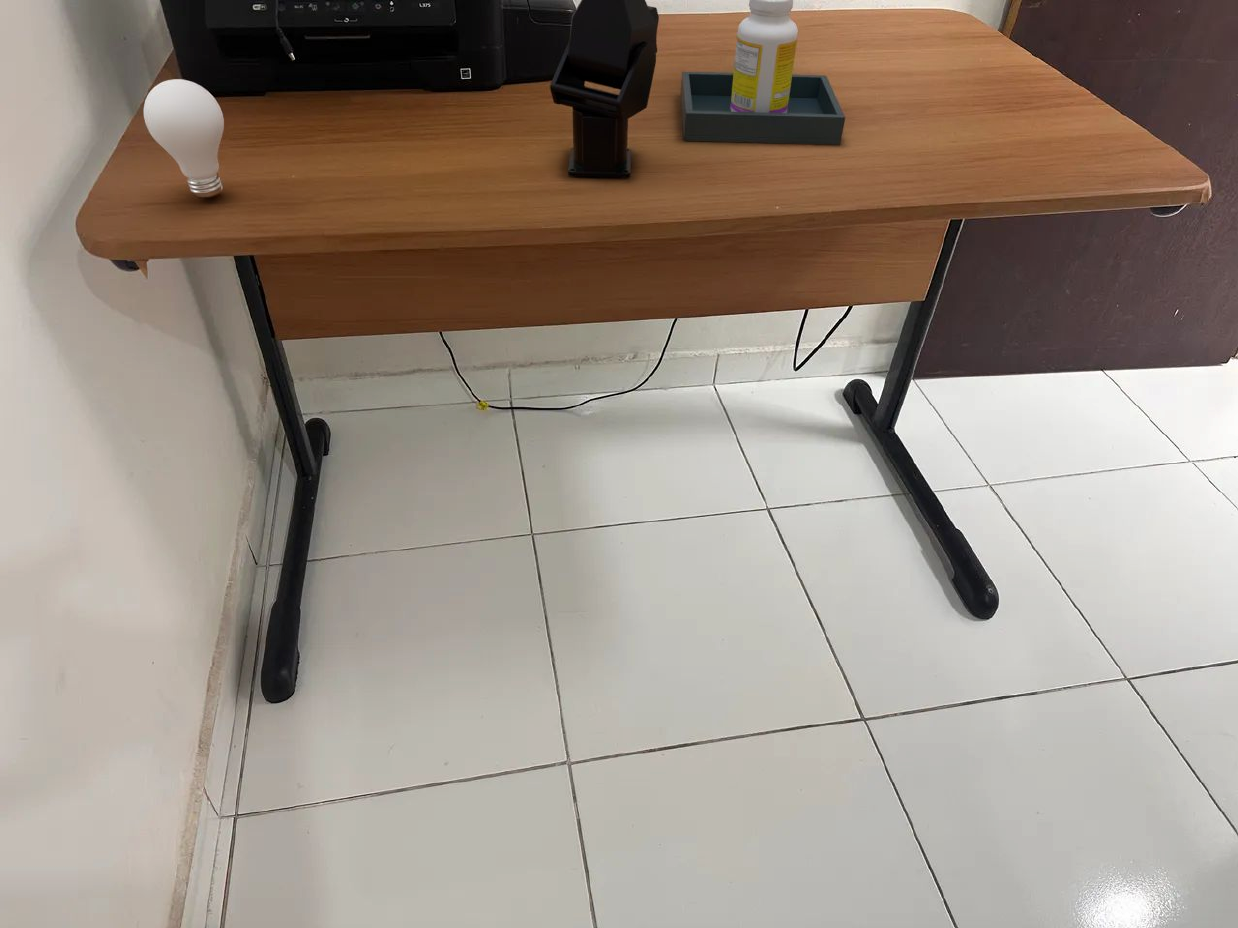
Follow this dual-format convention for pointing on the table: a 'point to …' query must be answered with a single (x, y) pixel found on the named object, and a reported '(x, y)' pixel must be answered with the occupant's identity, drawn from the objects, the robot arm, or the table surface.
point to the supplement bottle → (764, 58)
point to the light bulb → (188, 131)
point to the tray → (804, 123)
